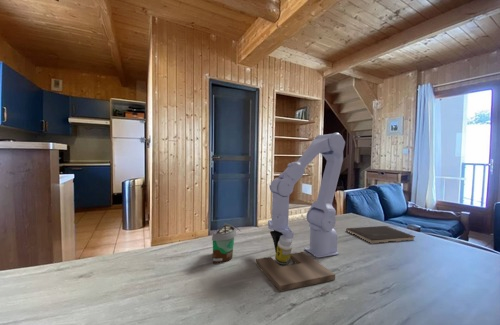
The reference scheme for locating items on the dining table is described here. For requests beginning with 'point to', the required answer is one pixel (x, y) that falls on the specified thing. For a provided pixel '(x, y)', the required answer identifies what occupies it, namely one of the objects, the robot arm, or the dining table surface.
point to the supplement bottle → (283, 250)
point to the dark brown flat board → (380, 234)
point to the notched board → (295, 272)
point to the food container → (223, 244)
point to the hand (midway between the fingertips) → (278, 252)
